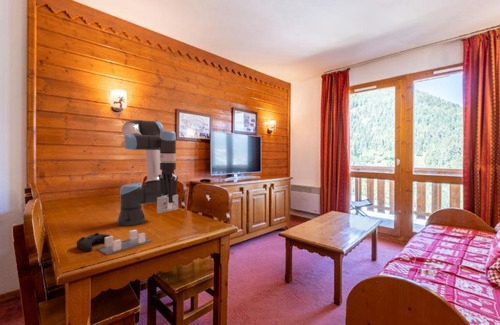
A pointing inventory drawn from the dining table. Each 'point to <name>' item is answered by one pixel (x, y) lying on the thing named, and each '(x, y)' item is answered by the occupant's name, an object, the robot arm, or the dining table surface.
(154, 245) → the dining table surface
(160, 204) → the cassette
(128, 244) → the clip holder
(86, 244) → the gaming controller
